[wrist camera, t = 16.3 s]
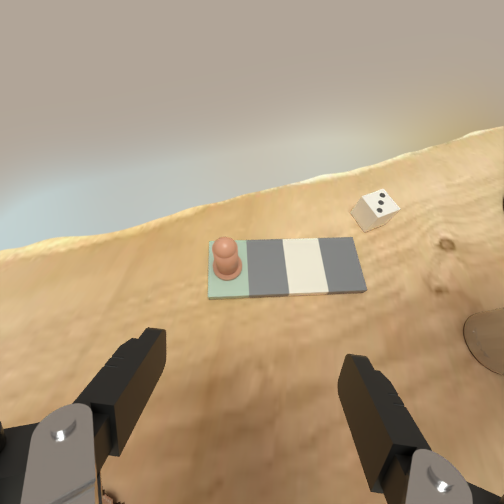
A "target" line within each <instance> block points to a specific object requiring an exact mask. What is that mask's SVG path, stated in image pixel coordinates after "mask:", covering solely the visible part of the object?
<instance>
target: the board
mask: <svg viewBox="0 0 504 504" xmlns="http://www.w3.org/2000/svg"><path fill="white" fill-rule="evenodd" d="M214 242H215V241H209V274H208V298H209V300H210V299H233V298H255V297H277V296H300V295H322V294H344V293H363V292H365V291H367V287H366V284H365V280H364V277H363V273H362V269H361V266H360V262H359V259H358V255H357V252H356V248H355V244H354V241H353V237H342V238H306V239H271V240H235V242H236V243H237V246H238V256H239V257H240V259H241V261H242V271H241V273H240V275H239V276H238V277H237V278H236V279H234V280H231V281H224V280H221V279H219V278H218V277H217V276H216V275H215V273H214V270H213V261H214V256H213V252H212V246H213V243H214Z"/></svg>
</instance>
